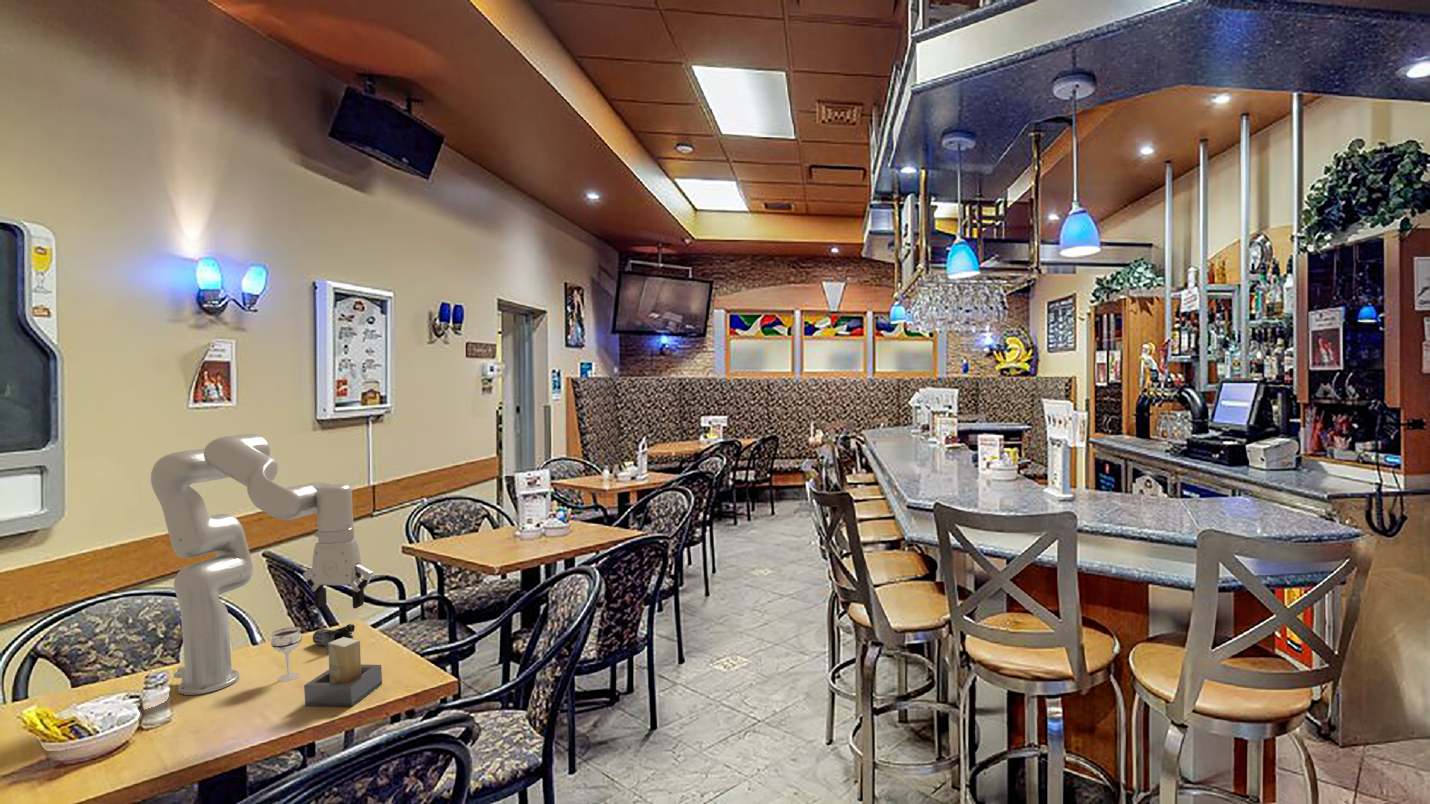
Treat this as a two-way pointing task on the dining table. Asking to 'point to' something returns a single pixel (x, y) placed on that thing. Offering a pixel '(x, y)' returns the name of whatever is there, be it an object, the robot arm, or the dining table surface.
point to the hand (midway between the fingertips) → (339, 606)
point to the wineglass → (286, 646)
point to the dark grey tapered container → (332, 635)
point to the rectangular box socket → (342, 688)
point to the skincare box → (344, 660)
